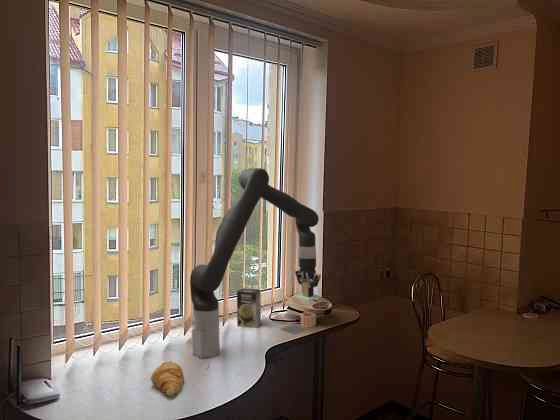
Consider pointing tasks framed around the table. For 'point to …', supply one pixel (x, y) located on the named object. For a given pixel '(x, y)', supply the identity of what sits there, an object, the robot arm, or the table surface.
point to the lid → (307, 293)
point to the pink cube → (308, 319)
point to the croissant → (168, 378)
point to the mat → (294, 329)
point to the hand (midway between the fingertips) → (308, 295)
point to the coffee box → (248, 308)
